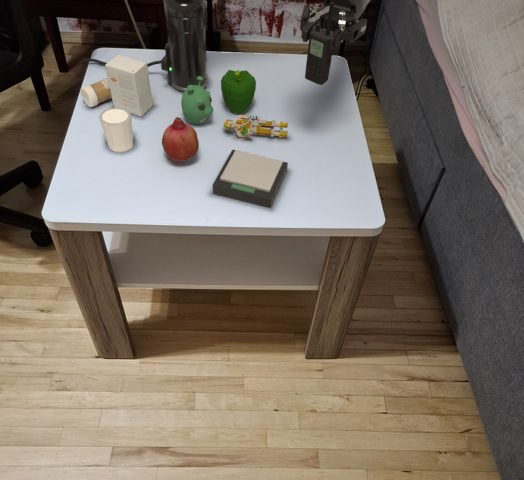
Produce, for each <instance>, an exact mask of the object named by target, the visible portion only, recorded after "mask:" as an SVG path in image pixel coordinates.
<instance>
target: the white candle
mask: <svg viewBox="0 0 524 480" xmlns="http://www.w3.org/2000/svg"><path fill="white" fill-rule="evenodd" d="M98 119H99V121H100V125H101V128H102V131H103V134H104V137H105V140H106V143H107V145H108V148H109V149H110V150H111V151H113V152H116V153H123V152H127V151H129V150H131V149H132V148H133V146H134V134H133V121H132V114H131V113H130V112H129V111H128V110H126V109H123V108H116V107H114V106H113V107H108V108H106V109H104V110H102V111H101V112H100V113H99V115H98Z"/></svg>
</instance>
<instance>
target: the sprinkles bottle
mask: <svg viewBox="0 0 524 480" xmlns="http://www.w3.org/2000/svg"><path fill="white" fill-rule="evenodd" d="M80 96H81V98H82V100H83V102H84V103H85V105H86V106H87V107H89V108H93V107H96V106H97V105H99V104H100V103H103V102H105V101H107V100H112V95H111V91H110V86H109V81H108V77H106V78H103V79H100V80H99V81H97V82H94V83H92V84H87V85H85V86H82V87H81V88H80Z"/></svg>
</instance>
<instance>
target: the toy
mask: <svg viewBox="0 0 524 480" xmlns="http://www.w3.org/2000/svg"><path fill="white" fill-rule="evenodd" d="M275 127H277V128H279V131H275ZM288 127H289V122H288V121H287V122H284V121H280V122H276V120H275V119H272V120H271V121H269V120H265V119H261V117H260V116H258V115H252V114H248V115H246V114H238V115H237V119H236V120H233V119H226V120H225V121H224V122H223V128H224V129H225V130H226V131H228V132H229V133H230V134H231V133H232V134H233V132H235V134H236V136H237V138H241V139H242V138H243V139H247V138H249V139H250V138H251V136H252V135H253V136H255V135H256V136H267V137H268V136H269V137H270V138H274V137H278V138H279V139H282V138H287V136H288V134H289V133H288V131H284V132H283V129H287V128H288Z"/></svg>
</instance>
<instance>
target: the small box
mask: <svg viewBox="0 0 524 480" xmlns="http://www.w3.org/2000/svg"><path fill="white" fill-rule="evenodd" d="M106 63H107V64H106V65H104V67H105V71H106V76H107V77H106V78H108V81H109V86H110V91H111V95H112V98H111V100H112V104H113V108H114V107H116V108H123V109H126V110H128V111H129V112H130V114H131V115H134V116H138V117H140V118H141V117H143V116H144V115H145V114H146V113H147V112H148V111H149V110H150V109H151V108H152V107H153V106H154V102H153V95H152V89H151V88H152V87H151V81H150V75H149V67H147V64H148V63H147V62H145V61H141V60H138V59H135V58H131V57H128V56H125V55H122V54H117V55H116V56H114V57H113V58H112V59H111V60H109V61H108V62H106Z"/></svg>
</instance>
